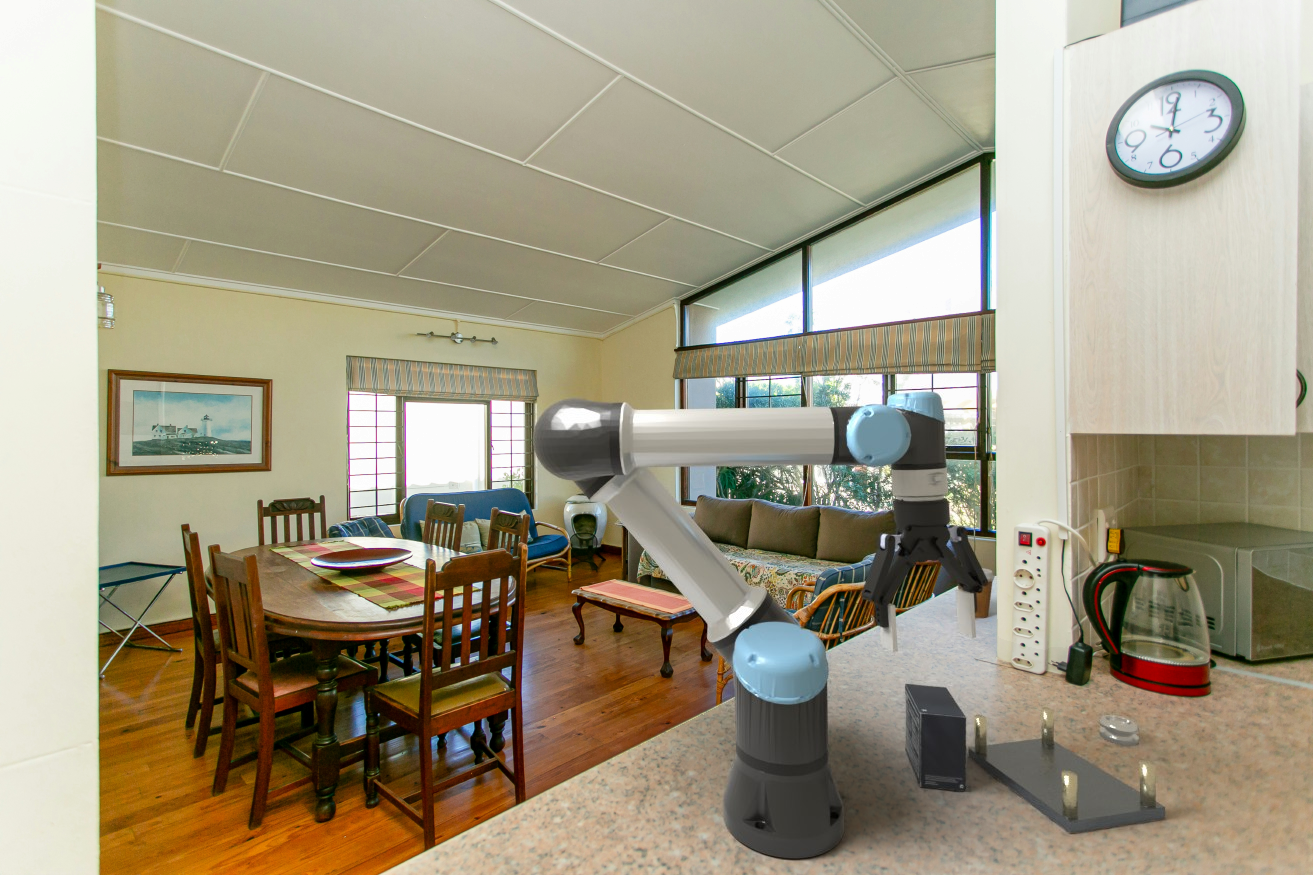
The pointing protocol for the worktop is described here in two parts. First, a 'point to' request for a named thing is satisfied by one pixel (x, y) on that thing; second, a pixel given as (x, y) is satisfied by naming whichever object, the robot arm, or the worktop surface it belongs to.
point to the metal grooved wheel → (1118, 730)
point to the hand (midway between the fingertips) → (929, 641)
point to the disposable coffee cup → (984, 596)
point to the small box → (935, 737)
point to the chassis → (1066, 781)
